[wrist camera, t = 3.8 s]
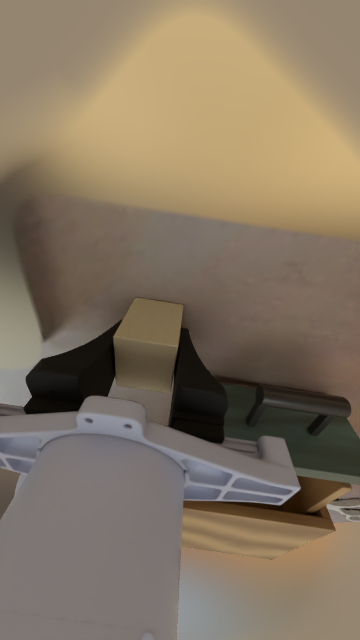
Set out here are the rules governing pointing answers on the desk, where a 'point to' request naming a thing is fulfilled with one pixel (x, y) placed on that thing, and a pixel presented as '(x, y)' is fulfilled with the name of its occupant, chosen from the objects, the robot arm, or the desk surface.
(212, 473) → the robot arm
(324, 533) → the cabinet
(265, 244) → the desk surface
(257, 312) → the desk surface
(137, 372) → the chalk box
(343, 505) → the scissors
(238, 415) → the drawer
